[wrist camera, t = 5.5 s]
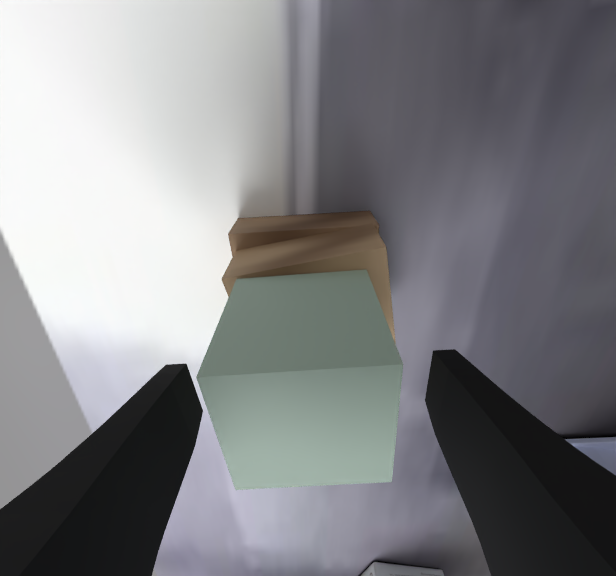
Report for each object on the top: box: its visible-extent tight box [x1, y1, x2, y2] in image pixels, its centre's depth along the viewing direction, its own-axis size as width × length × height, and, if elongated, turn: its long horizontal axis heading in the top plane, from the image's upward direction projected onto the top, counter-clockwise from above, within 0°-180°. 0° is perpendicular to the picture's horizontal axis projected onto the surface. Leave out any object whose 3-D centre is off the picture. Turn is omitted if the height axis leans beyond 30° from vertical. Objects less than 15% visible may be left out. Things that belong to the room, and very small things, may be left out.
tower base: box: [228, 211, 379, 256], centre depth 15 cm, size 6×6×2 cm
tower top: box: [222, 223, 396, 344], centre depth 13 cm, size 6×6×2 cm
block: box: [196, 269, 403, 490], centre depth 10 cm, size 4×4×4 cm
